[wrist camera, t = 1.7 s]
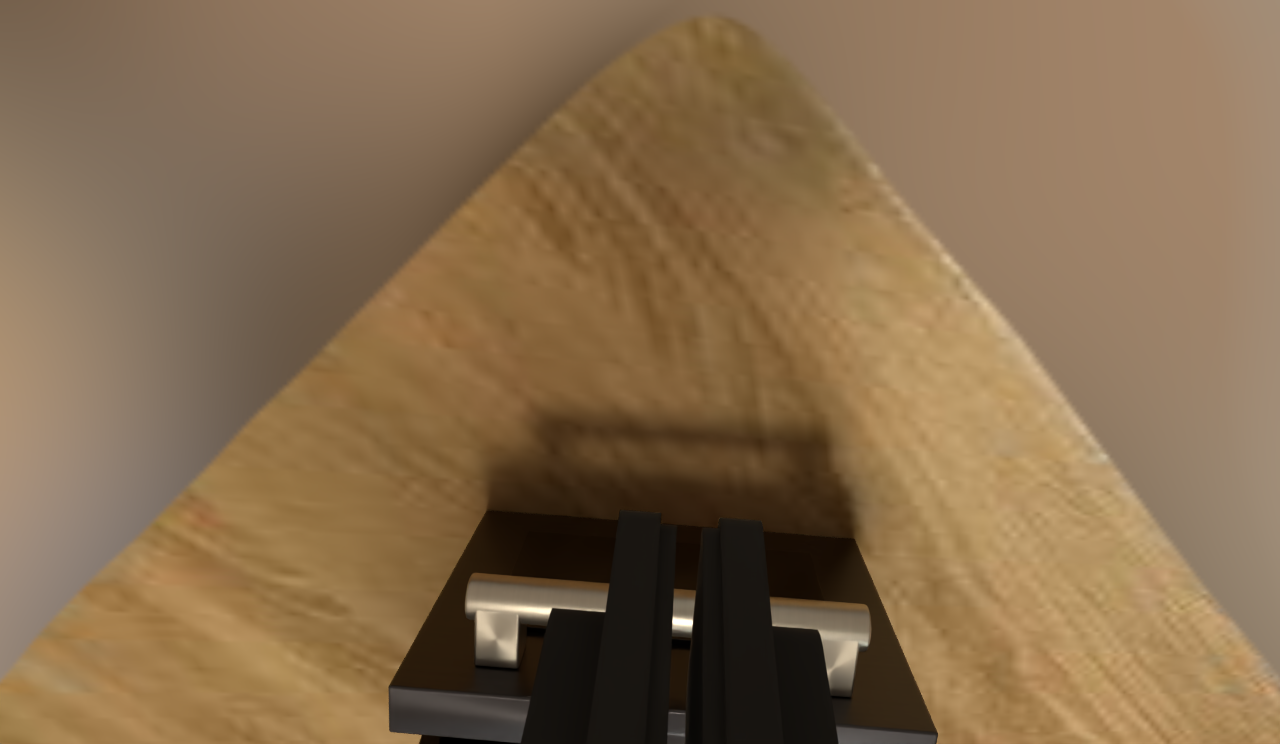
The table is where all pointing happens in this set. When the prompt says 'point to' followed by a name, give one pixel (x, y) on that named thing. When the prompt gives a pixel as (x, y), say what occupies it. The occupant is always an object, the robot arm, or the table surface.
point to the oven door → (579, 580)
